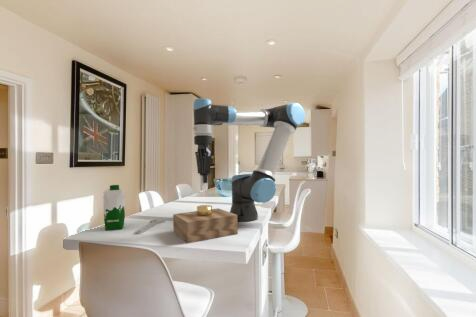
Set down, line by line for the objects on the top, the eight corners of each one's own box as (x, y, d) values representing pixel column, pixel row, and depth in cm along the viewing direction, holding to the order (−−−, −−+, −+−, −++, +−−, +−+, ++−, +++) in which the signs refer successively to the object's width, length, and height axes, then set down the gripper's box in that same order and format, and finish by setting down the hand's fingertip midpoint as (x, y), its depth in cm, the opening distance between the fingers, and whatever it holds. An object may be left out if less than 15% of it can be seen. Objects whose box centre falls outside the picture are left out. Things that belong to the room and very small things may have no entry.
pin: (208, 229, 124) (208, 204, 123) (215, 232, 118) (214, 206, 118) (195, 231, 120) (194, 206, 120) (201, 235, 115) (200, 208, 115)
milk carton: (126, 225, 136) (125, 184, 136) (123, 229, 127) (122, 186, 127) (106, 226, 134) (105, 185, 133) (102, 231, 125) (101, 187, 125)
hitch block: (218, 225, 132) (218, 208, 132) (237, 233, 117) (237, 215, 117) (173, 232, 121) (173, 214, 121) (188, 243, 106) (187, 222, 106)
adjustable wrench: (140, 235, 119) (140, 231, 119) (126, 235, 121) (126, 231, 121) (166, 221, 144) (166, 218, 144) (155, 221, 145) (155, 217, 145)
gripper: (189, 136, 122) (190, 189, 123) (200, 134, 111) (202, 192, 111) (204, 136, 126) (206, 188, 126) (217, 134, 115) (218, 191, 115)
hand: (204, 190), depth 119 cm, fingers closed
